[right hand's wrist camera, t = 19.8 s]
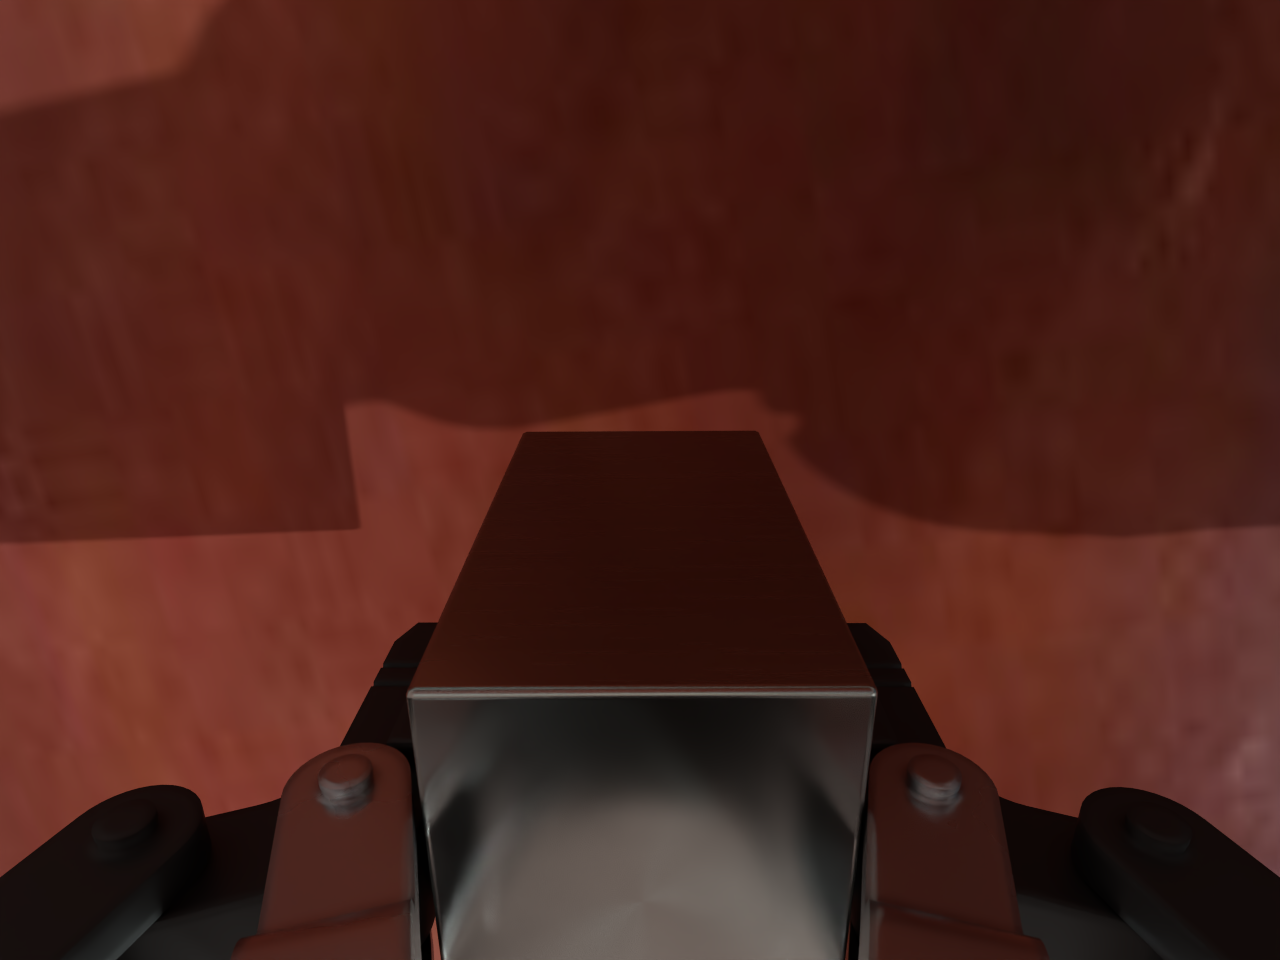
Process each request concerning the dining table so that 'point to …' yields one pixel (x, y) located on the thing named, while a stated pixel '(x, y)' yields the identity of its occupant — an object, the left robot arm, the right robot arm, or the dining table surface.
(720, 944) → the block
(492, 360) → the dining table surface
